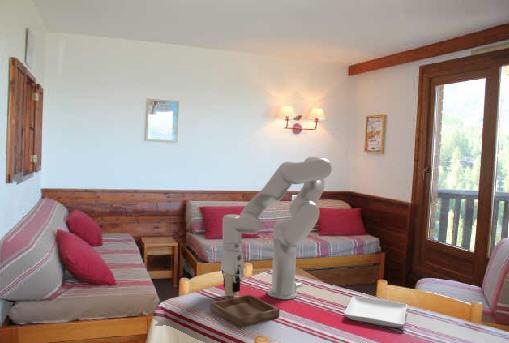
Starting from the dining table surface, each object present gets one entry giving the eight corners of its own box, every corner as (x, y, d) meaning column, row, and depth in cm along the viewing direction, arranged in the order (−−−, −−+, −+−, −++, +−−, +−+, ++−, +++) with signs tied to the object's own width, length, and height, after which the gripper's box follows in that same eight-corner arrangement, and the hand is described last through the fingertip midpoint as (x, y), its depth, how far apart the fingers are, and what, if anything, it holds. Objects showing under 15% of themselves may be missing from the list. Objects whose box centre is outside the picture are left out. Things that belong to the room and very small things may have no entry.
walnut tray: (248, 301, 179) (249, 294, 178) (279, 316, 165) (279, 308, 164) (210, 310, 167) (210, 303, 167) (239, 328, 153) (239, 319, 153)
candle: (236, 297, 179) (236, 272, 178) (223, 295, 180) (223, 271, 180) (239, 292, 185) (240, 268, 184) (226, 291, 186) (227, 267, 185)
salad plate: (342, 321, 164) (343, 312, 163) (352, 302, 183) (352, 294, 183) (403, 333, 156) (404, 323, 156) (407, 312, 176) (407, 303, 175)
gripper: (252, 248, 176) (252, 293, 178) (227, 240, 190) (227, 282, 191) (237, 251, 172) (236, 297, 173) (212, 242, 185) (212, 285, 187)
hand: (231, 289), depth 182 cm, fingers closed on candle, 5 cm apart
